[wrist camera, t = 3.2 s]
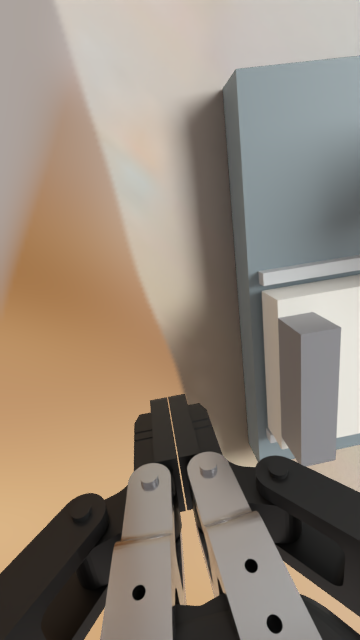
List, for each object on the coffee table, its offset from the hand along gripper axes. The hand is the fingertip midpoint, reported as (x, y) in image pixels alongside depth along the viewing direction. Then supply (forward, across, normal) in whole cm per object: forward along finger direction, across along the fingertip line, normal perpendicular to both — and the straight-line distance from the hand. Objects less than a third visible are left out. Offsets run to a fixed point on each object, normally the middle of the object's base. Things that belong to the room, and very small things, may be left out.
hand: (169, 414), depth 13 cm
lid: (+3, -9, 0) cm, 10 cm away
